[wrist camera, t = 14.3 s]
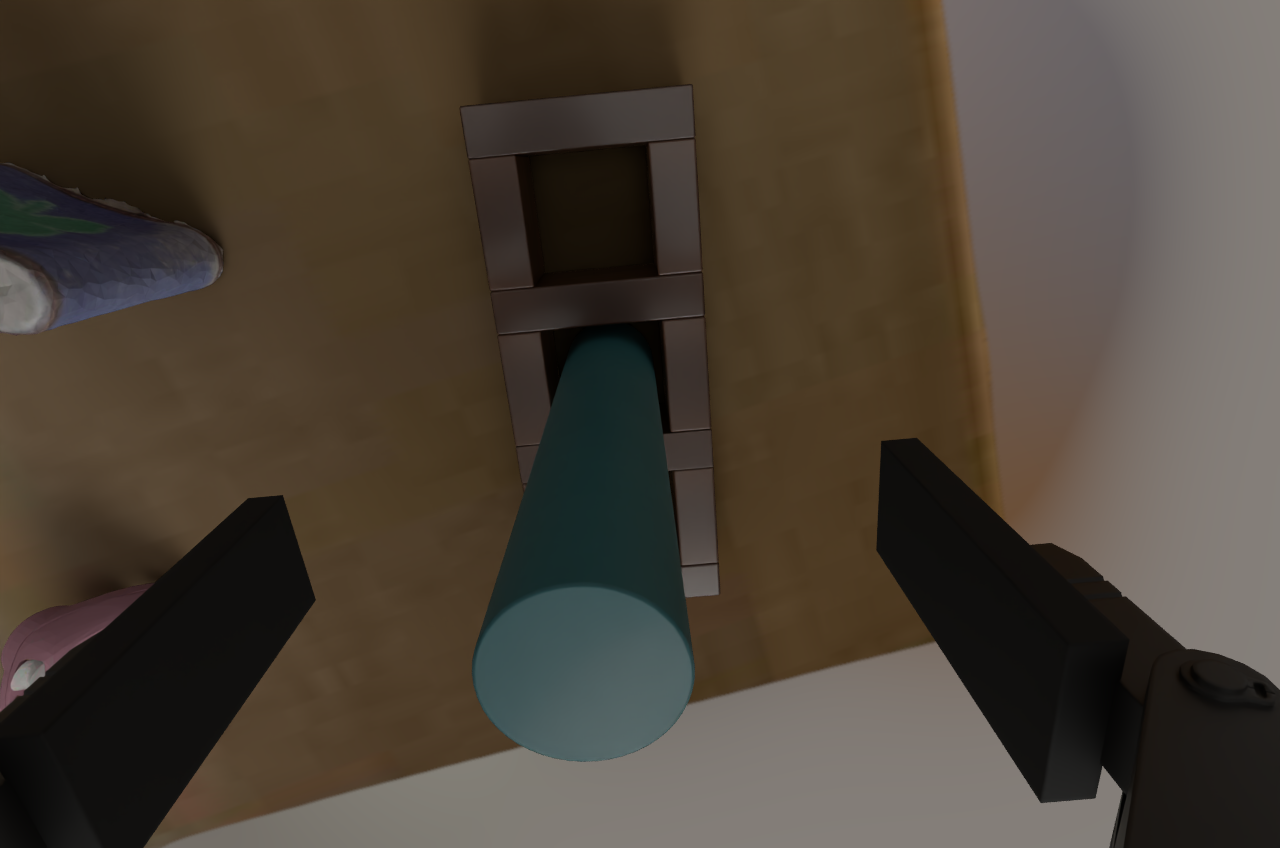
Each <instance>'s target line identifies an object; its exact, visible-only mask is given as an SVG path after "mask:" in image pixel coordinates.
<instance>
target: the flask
mask: <svg viewBox="0 0 1280 848" xmlns="http://www.w3.org/2000/svg"><path fill="white" fill-rule="evenodd" d="M222 251H223V249H222V248H221V247H220V246H219V245H218V244H217V243H215V241H214V240H212V239H211V238H210V237H209V236H207V235H205V234H204V233H203V232H201V231H200V230H198V229H195V228H192V227H191V226H189V225H187V224H186V223H184V222H180V221H177V220H175V221H174V222H165V221H163V220H161V219H157V218H156V217H151V216H150V215H148V214H147V213H146V214H144V213H143V212H141V210H140V209H139V208H136V207H132V206H129V205H128V204H126V202H125V201H123V202H118V201H116V200H114V199H106V198H105V200H102V199H90V198H87V197H85V196H83V195H81V193H80V191H79V189H78V187H77V188H75V189H73V188H62V187H60V186H57V185H54V184H53V183H52V182H51V181H49V180H48V179H46V176H45V175H43V176H40V175H37V174H35V173H32V172H30V171H28V170H27V169H24V168H21V167H18V166H16V165H14V164H12V163H0V333H8V334H12V335H16V336H17V335H20V334H37V333H40V332H43V331H47V330H51V329H53V328H56V327H59V326H62V325H66V324H70V323H74V322H78V321H81V320H85V319H88V318H91V317H94V316H98V315H102V314H106V313H110V312H113V311H117V310H120V309H124V308H127V307H131V306H134V305H138V304H141V303H145V302H148V301H152V300H158V299H162V298H166V297H170V296H174V295H178V294H182V293H185V292H188V291H194V290H198V289H201V288H204V287H207V286H209V285H211V284H213V283H214V282H215V281H216V280H217V279H218V278H219V277H220V275H221V273H222V271H223V270H222V269H223V268H222V267H223V264H224V263H223V261H222V260H223V256H222V255H223V252H222ZM217 276H218V277H217ZM216 278H217V279H216Z"/></svg>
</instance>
